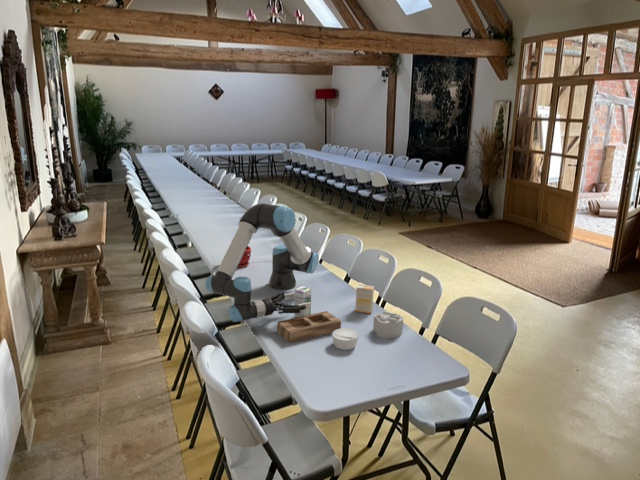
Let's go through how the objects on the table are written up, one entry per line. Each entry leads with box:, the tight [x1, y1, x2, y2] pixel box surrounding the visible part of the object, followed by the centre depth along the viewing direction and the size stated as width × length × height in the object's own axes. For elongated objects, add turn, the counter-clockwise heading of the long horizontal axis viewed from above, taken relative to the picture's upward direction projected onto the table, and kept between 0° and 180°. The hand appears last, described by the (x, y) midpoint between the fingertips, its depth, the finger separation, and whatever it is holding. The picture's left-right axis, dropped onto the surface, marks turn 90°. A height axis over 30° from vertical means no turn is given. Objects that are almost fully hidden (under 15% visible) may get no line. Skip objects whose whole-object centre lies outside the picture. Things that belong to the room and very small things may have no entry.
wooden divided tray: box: [276, 310, 342, 344], centre depth 212 cm, size 12×26×5 cm, turn 122°
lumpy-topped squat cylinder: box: [372, 310, 404, 339], centre depth 214 cm, size 10×13×9 cm
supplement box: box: [355, 284, 375, 315], centre depth 235 cm, size 8×5×13 cm, turn 74°
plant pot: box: [237, 245, 252, 269], centre depth 296 cm, size 13×13×12 cm
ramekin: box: [331, 327, 359, 351], centre depth 201 cm, size 11×11×5 cm
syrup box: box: [294, 285, 312, 318], centre depth 226 cm, size 6×6×14 cm
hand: (303, 299), depth 225 cm, fingers open, 13 cm apart
